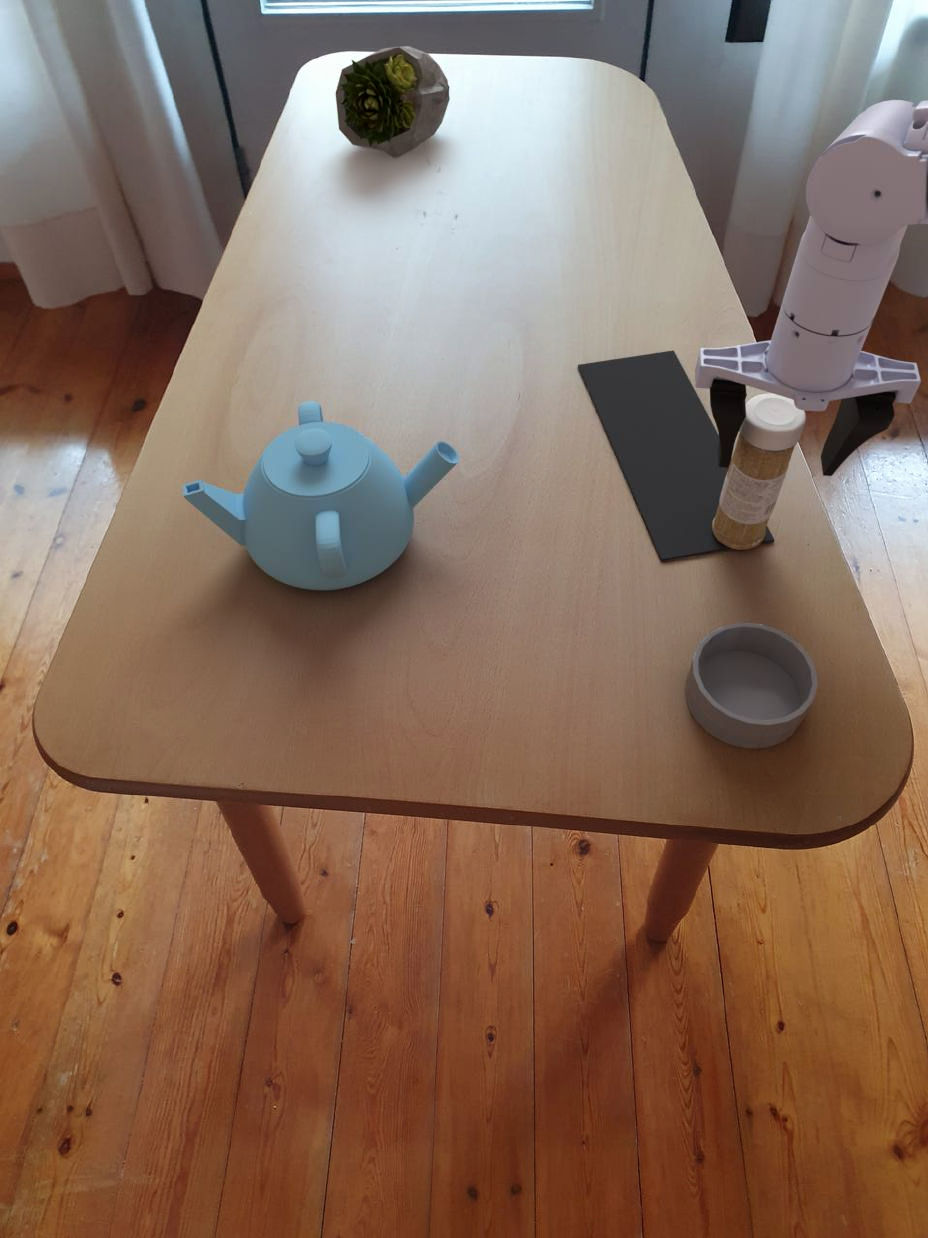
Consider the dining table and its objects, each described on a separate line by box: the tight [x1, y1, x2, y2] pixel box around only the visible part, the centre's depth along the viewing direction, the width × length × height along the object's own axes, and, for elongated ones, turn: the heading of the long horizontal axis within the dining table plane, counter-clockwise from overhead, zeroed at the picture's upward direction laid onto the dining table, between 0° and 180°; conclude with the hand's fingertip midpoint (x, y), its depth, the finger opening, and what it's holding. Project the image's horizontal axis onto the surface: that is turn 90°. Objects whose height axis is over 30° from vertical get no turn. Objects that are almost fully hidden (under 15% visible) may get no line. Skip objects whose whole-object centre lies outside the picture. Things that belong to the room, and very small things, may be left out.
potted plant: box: [334, 45, 451, 159], centre depth 116 cm, size 12×13×15 cm
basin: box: [684, 622, 819, 750], centre depth 70 cm, size 9×9×4 cm
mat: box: [577, 350, 775, 562], centre depth 87 cm, size 26×10×1 cm, turn 11°
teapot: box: [181, 400, 460, 591], centre depth 77 cm, size 15×17×11 cm
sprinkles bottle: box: [712, 392, 807, 551], centre depth 75 cm, size 5×5×13 cm
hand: (774, 462), depth 71 cm, fingers open, 7 cm apart
